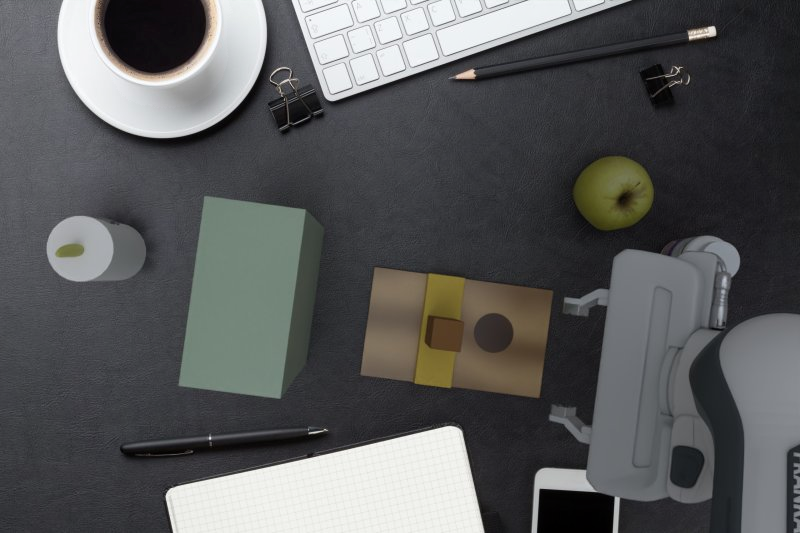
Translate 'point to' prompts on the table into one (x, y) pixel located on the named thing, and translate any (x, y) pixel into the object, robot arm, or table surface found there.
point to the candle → (95, 249)
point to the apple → (613, 193)
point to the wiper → (440, 330)
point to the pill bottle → (708, 245)
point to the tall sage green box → (251, 297)
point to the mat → (482, 336)
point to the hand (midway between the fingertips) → (559, 358)
